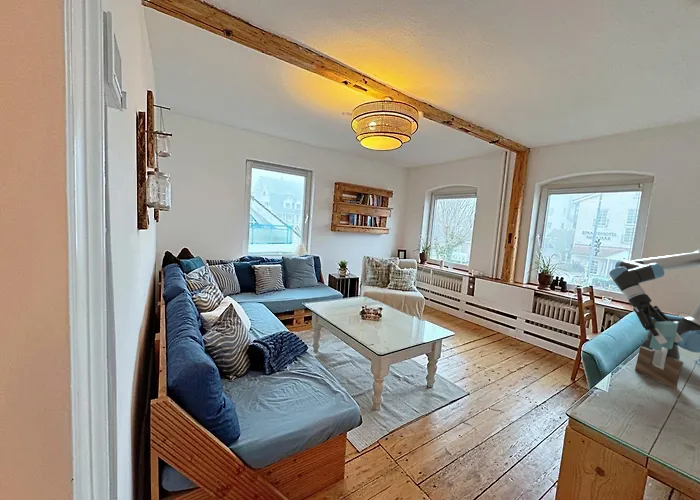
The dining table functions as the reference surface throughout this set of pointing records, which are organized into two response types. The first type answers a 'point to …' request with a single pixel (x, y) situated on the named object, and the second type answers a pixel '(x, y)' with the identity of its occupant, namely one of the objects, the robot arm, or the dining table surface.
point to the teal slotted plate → (664, 334)
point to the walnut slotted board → (659, 368)
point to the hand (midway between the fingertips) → (671, 342)
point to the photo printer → (660, 357)
